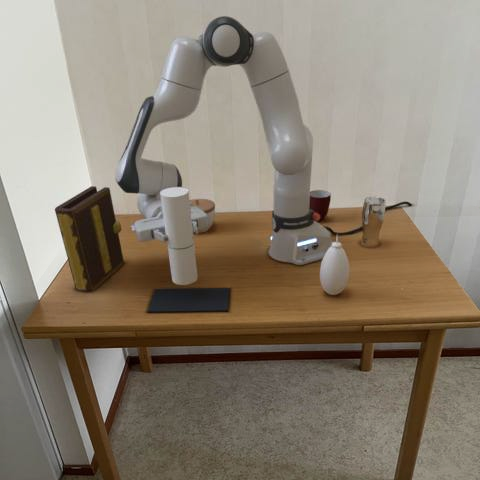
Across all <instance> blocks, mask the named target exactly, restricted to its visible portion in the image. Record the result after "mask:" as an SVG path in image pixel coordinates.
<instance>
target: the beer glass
mask: <svg viewBox="0 0 480 480" xmlns="http://www.w3.org/2000/svg"><path fill="white" fill-rule="evenodd" d="M385 207H386V199H385V198H383V197H380V196H368V197H365V198H364V200H363V205H362V211H361V226H363V229H362V235H361V239H360V245H361V246H362V247H365V248H377V247H378V246H380V232H381V228H382V226H383V223H384V219H385V214H386V210H385Z"/></svg>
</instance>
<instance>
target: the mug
mask: <svg viewBox="0 0 480 480" xmlns="http://www.w3.org/2000/svg"><path fill="white" fill-rule="evenodd" d="M331 196H332V194H331V192H330V191H328V190H324V189H313V190H310V202H309V209H311V210H313V211H314V213H318V214H319V215H320V219H319V220H318V221H316V220H315V219H314V220H315V221H316V222H317V223H322V222H324V220H325V219H326V217H327V215H328V213H329V209H330V205H331V198H332V197H331Z"/></svg>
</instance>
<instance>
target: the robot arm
mask: <svg viewBox="0 0 480 480" xmlns="http://www.w3.org/2000/svg"><path fill="white" fill-rule="evenodd" d="M280 46H281V45H280V44H279V43H278V40H277V39H276V37H275V36H274V35H273V34H272V32H271V33H270V32H267V31H259V32H256V33H253V34H252V33H251V32H250V31H249V30H248V29H247V28H245V26H244V25H243V24H242V23H240V21H238V20H237V19H235V18H234V17H231V16H227V15H224V16H218V17H216V18H214V19H212V20H210V22H209V23H208V24H207V26H206V27H205V28H204V31H203V32H202V34H200V35H199V37H198V38H193V37H190V36H180V37H177V38H175V39H174V40H173V41H172V42H171V45H170V47H169V50H168V53H167V55H166V58H165V61H164V65H163V69H162V73H161V78H160V81H159V85H158V87H157V89H155V91H154V93H153V94H152V95H151V96H148V97H145V99H144V101H143V102H142V104H141V106H140V107H139V110H138V113H137V116H136V118H135V120H134V124H133V126H132V129H131V132H130V135H129V137H128V140H127V143H126V145H125V149H124V151H123V154H122V155H121V157H120V159H119V162H118V163H117V166H116V170H115V182H116V184H117V186H118V187H119V188H120V189H121V190H122V191H123V192H124V193H126V194H136V195H137V194H138V195H137V197H136V206H137V209H138V212H139V213H140V215H141V217H143V218H142V219H139V220H136V221H135V222H134V223H133V224H132V225H130V226H129V227H130V230H131V231H132V232H135V236H136V238H137V241H138V242H141V243H146V242H149V241H154V240H157V241H161V242H162V243H165V242H167V241H168V235H167V234H166V232H165V225H164V218H163V211H162V203H161V196H160V192H161V191H162V190H164V189H167V188H172V187H183V178H182V176H181V175H182V174H181V172H180V170H179V169H178V166H176V165H175V164H172V163H168V162H164V161H157V160H152V159H148V158H147V159H146V158H142V156H143V154H144V150H145V148H146V145H147V143H148V140H149V137H150V136H151V132H152V131H153V129H154V128H156V127H157V126H159V125H161V124H164V123H165V124H166V123H169V122H174V121H180V120H183V119H186V118H188V117H190V116H191V115H192V114H193V113H194V112H195V111H197V108H198V105H199V103H200V99H201V95H202V91H203V86H204V82H205V78H206V75H207V74H208V71H209V70H210V68H212V67H216V66H217V67H222V68H223V67H224V68H227V67H230V66H235V65H236V66H238V65H239V66H240V67H241V68H242V70H243V72H244V73H245V74H246V78H247V81H248V85H249V86H250V89H251V92H252V96H253V98H254V102H255V104H256V107H257V109H258V112H259V116H260V119H261V124H262V128H263V129H262V130H263V132H264V137H265V141H266V144H267V148H268V153H269V155H270V160H271V164H272V166H273V168H274V175H273V176H274V177H273V186H272V187H273V189H272V190H273V191H272V192H273V198H272V199H273V201H272V203H273V209H272V211H271V228H272V235H271V237H270V240H271V242H270V246H269V248H268V255H269V257H270V258H272V259H273V260H276V261H277V262H278V261H279V262H283V263H291V264H294V265H297V266H304V265H306V264H310V263H313V262H317V261H321V260H323V258H324V255H325V254H326V252H327V250H328V249H329V248H330V247H331V244H332V243H333V242H334V241H333V240H332V237H331V235H333V236H337V234H338V236H347V235H352V234H355V233H357V232H360V231H363V225H361V226H360V227H358V228H355V229H352V230H350V231H345V232H336V231H334V230H333V229H332V228H331V227H329V226H325V225H322V224H320V222H316V221H318V220H319V219H320V215H319V214H318V213H314V211H313V210H311V209H309V202H310V192H311V183H312V182H311V179H312V167H313V152H314V151H313V148H314V138H313V134H312V132H311V130H310V128H309V127H308V126H307V125H306V124H304V122H303V118H302V113H301V109H300V108H301V107H300V102H299V98H298V94H297V92H296V88H295V86H294V82H293V78H292V76H291V72H290V69H289V67H288V63H287V60H286V57H285V55H284V52H283V51H282V49H281V47H280ZM402 205H408V206H409V207H411V206H413V205H412V203H411V202H409V201H401V202H398V203H396V204H393V205H388V206H385V211H387V210H390V209H394V208H397V207H399V206H402ZM190 211H191V220H192V229H193V236H194V235H198V234H199V233H198V229H202V228H206V227H207V226H208V217H207V214H206V213H205V212H204V211H202V210H201V209H200V208H198V207H195V206H193V204H192V202H190ZM314 219H315V220H316V221H315V220H314ZM330 233H331V234H330Z"/></svg>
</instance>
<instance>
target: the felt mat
mask: <svg viewBox="0 0 480 480" xmlns="http://www.w3.org/2000/svg"><path fill="white" fill-rule="evenodd" d="M230 293H231V287H194V288H193V287H192V288H190V287H189V288H186V287H185V288H155V289H154V291H153V293H152V296H151V300H150V302H149V306H148V308H147V310H146V312H147V314H166V313H167V314H168V313H169V314H170V313H171V314H172V313H223V312H224V313H227V312H229V306H230V305H229V303H230Z"/></svg>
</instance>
